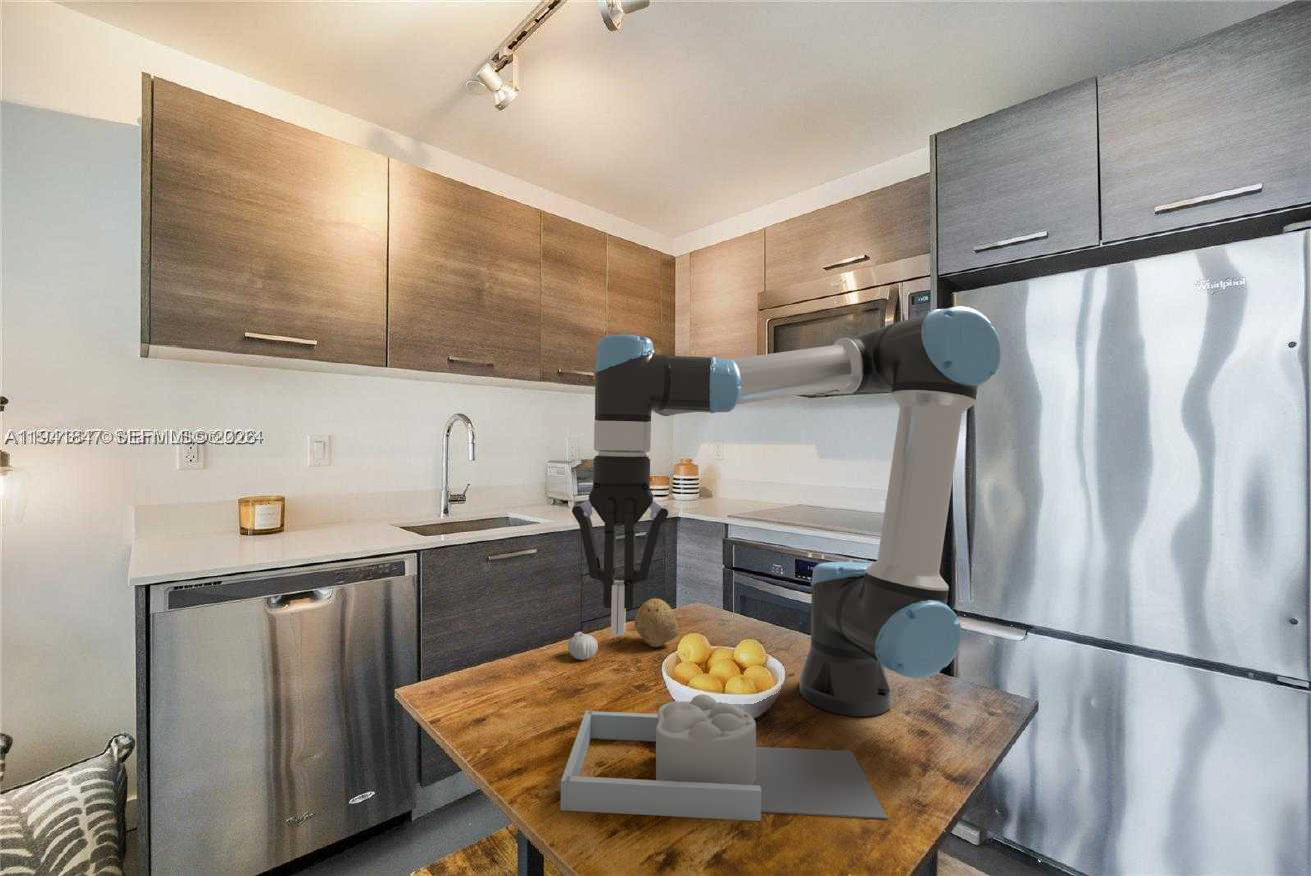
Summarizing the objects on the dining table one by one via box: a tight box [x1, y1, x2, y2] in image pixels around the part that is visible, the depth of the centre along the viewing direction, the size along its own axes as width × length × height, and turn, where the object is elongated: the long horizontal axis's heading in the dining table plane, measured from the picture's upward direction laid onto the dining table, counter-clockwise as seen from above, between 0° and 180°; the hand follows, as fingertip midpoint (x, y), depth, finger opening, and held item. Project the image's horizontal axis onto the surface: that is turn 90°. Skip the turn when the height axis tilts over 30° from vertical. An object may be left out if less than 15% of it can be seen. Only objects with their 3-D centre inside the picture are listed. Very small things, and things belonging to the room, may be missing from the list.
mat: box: [753, 746, 888, 820], centre depth 74 cm, size 17×14×1 cm
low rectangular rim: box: [560, 710, 762, 822], centre depth 75 cm, size 24×17×4 cm
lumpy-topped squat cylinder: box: [655, 693, 757, 785], centre depth 74 cm, size 10×13×9 cm
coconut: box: [634, 597, 679, 648], centre depth 120 cm, size 9×9×10 cm
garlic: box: [567, 631, 599, 661], centre depth 113 cm, size 6×5×5 cm
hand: (618, 631), depth 75 cm, fingers closed
